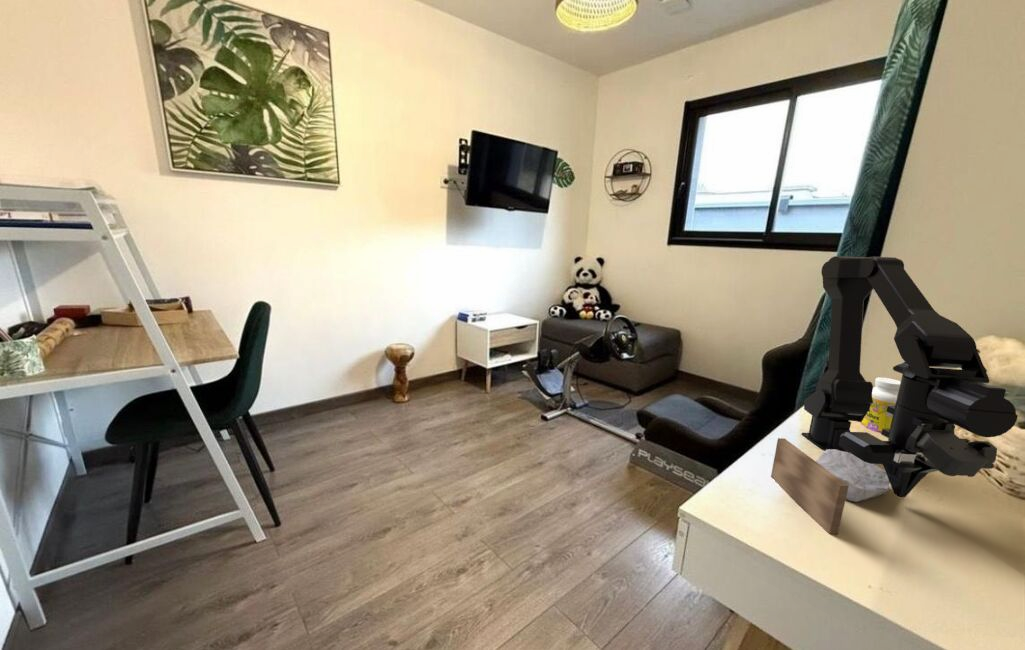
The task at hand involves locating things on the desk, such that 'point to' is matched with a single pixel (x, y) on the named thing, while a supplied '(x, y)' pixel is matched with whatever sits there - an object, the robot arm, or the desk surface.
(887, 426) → the supplement bottle
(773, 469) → the walnut plate
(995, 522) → the desk surface
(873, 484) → the stone block
